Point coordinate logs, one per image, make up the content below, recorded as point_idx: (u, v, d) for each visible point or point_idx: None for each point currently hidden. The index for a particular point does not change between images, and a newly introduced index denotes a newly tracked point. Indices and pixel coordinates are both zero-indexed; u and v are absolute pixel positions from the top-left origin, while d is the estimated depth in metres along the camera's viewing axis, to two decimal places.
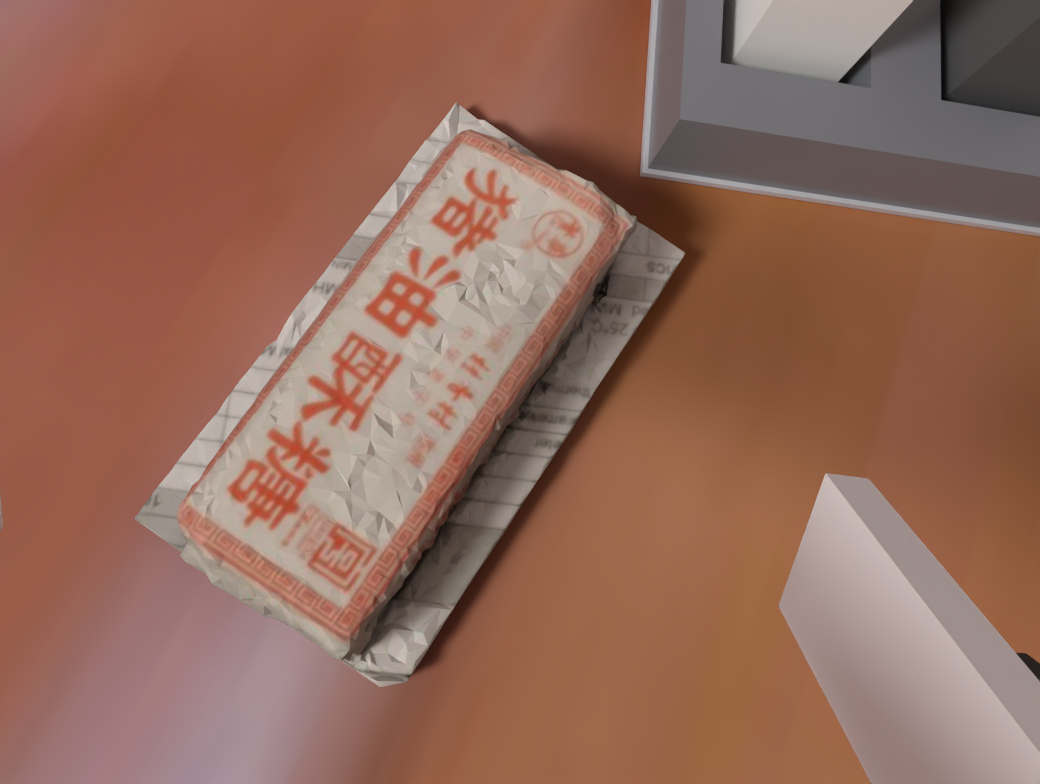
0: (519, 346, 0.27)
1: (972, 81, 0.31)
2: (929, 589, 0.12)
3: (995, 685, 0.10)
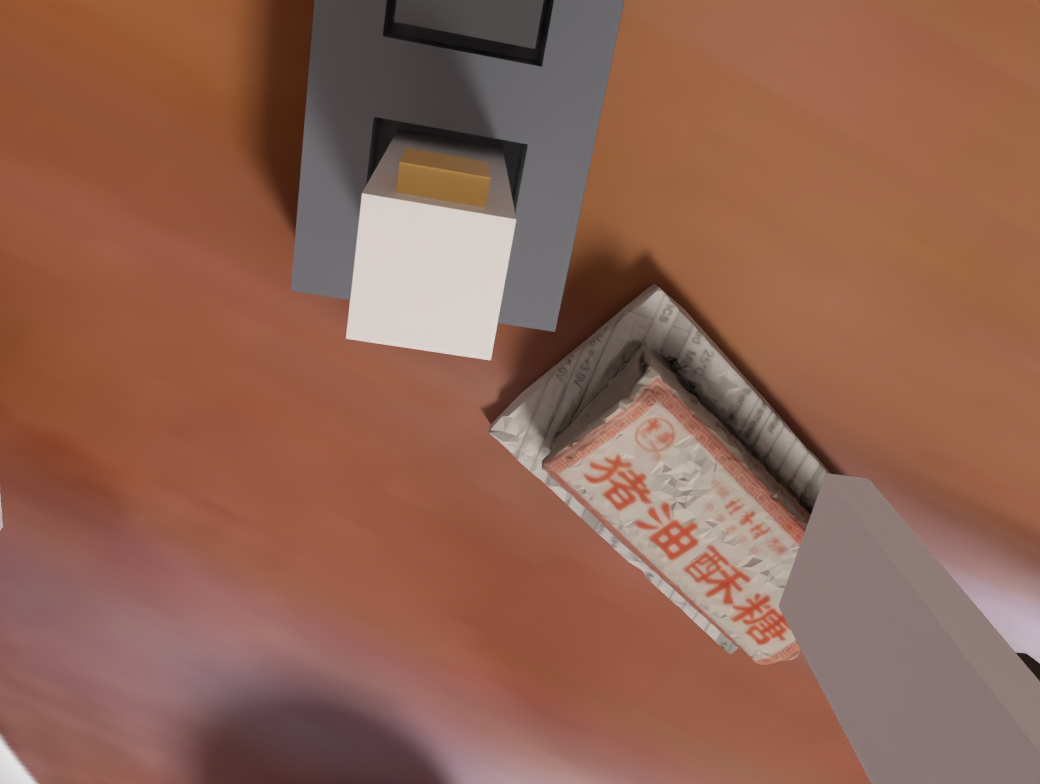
0: (730, 477, 0.37)
1: None
2: (929, 589, 0.12)
3: (995, 685, 0.10)
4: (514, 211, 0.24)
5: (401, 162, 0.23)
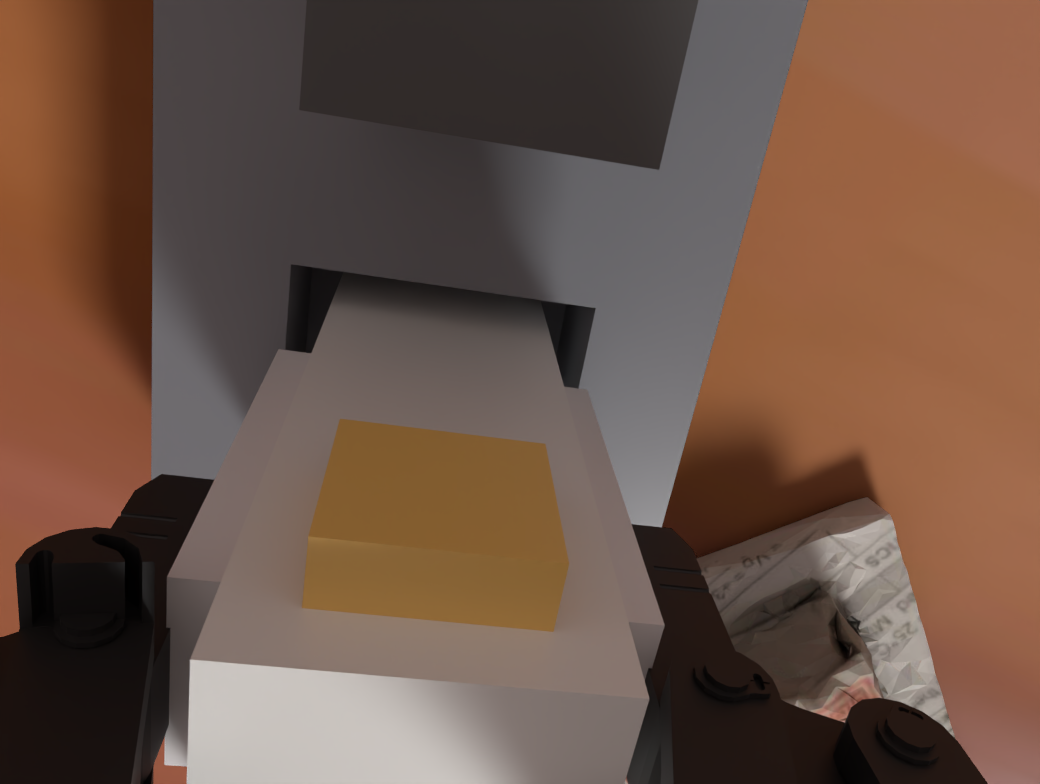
0: None
1: None
2: None
3: None
4: (630, 631, 0.09)
5: (313, 537, 0.08)
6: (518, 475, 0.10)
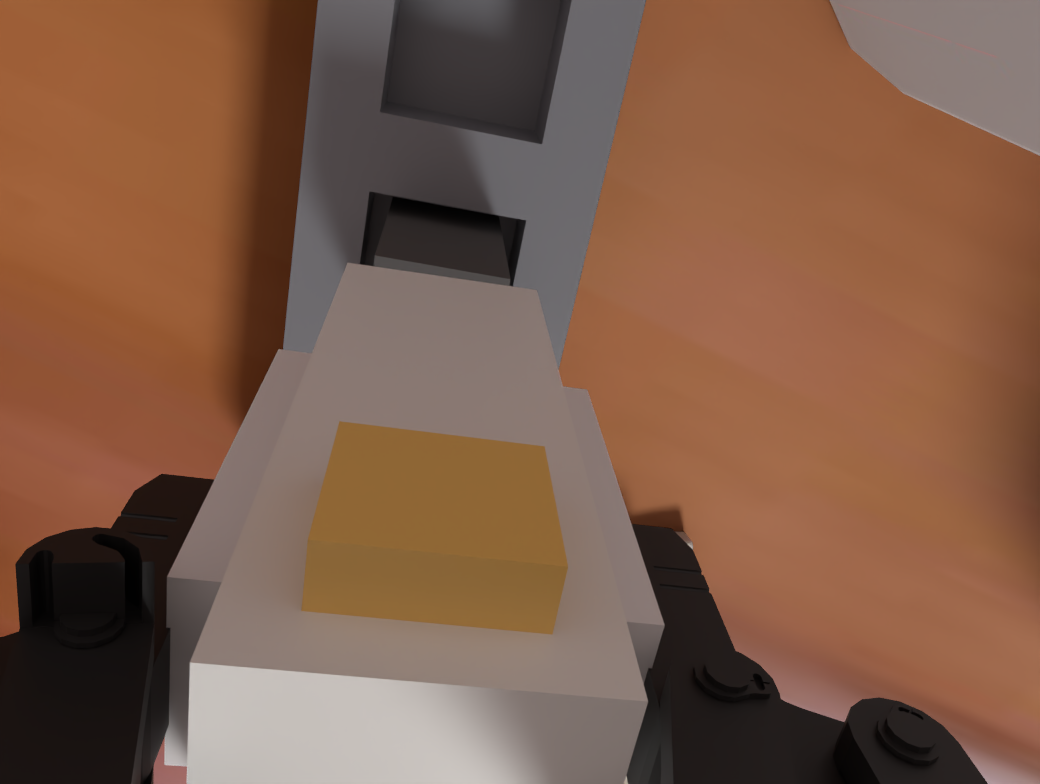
0: None
1: None
2: None
3: None
4: (629, 634, 0.09)
5: (313, 540, 0.08)
6: (517, 478, 0.10)
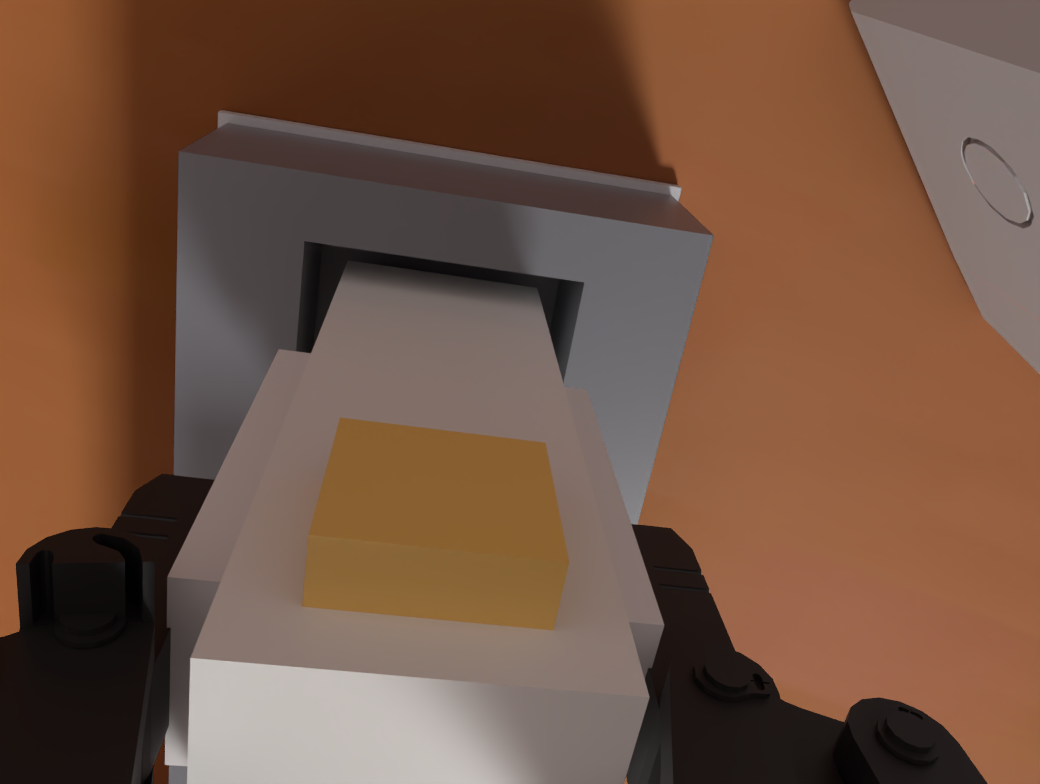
0: None
1: None
2: None
3: None
4: (630, 630, 0.09)
5: (314, 536, 0.08)
6: (518, 474, 0.10)
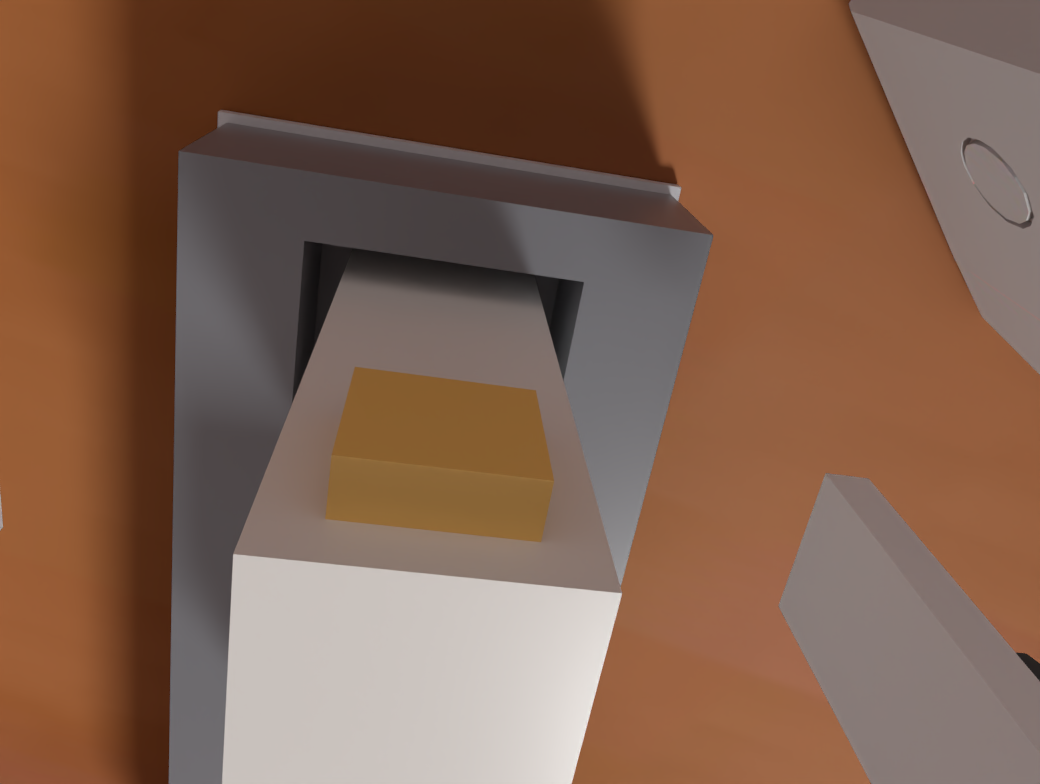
0: None
1: None
2: (929, 589, 0.12)
3: (995, 685, 0.10)
4: (607, 544, 0.10)
5: (336, 456, 0.09)
6: (511, 414, 0.11)
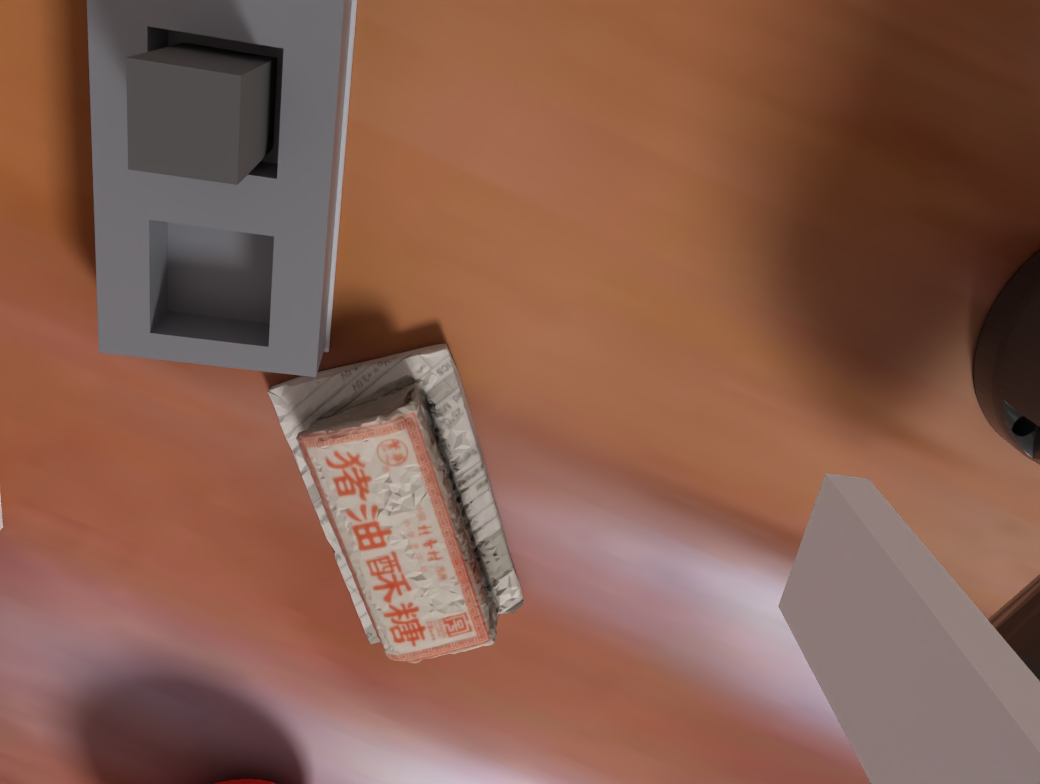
0: (431, 507, 0.46)
1: (260, 155, 0.38)
2: (929, 590, 0.12)
3: (995, 686, 0.10)
4: None
5: None
6: None
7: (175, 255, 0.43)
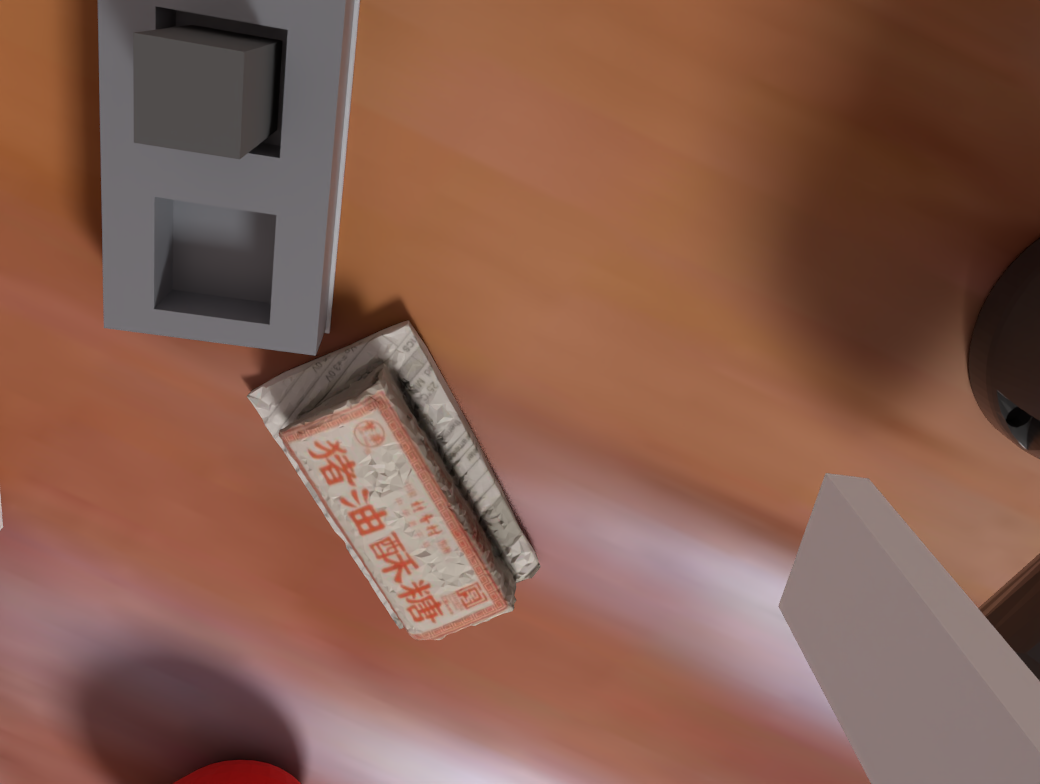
0: (419, 482, 0.47)
1: (263, 134, 0.39)
2: (929, 589, 0.12)
3: (995, 685, 0.10)
4: None
5: None
6: None
7: (180, 234, 0.44)
